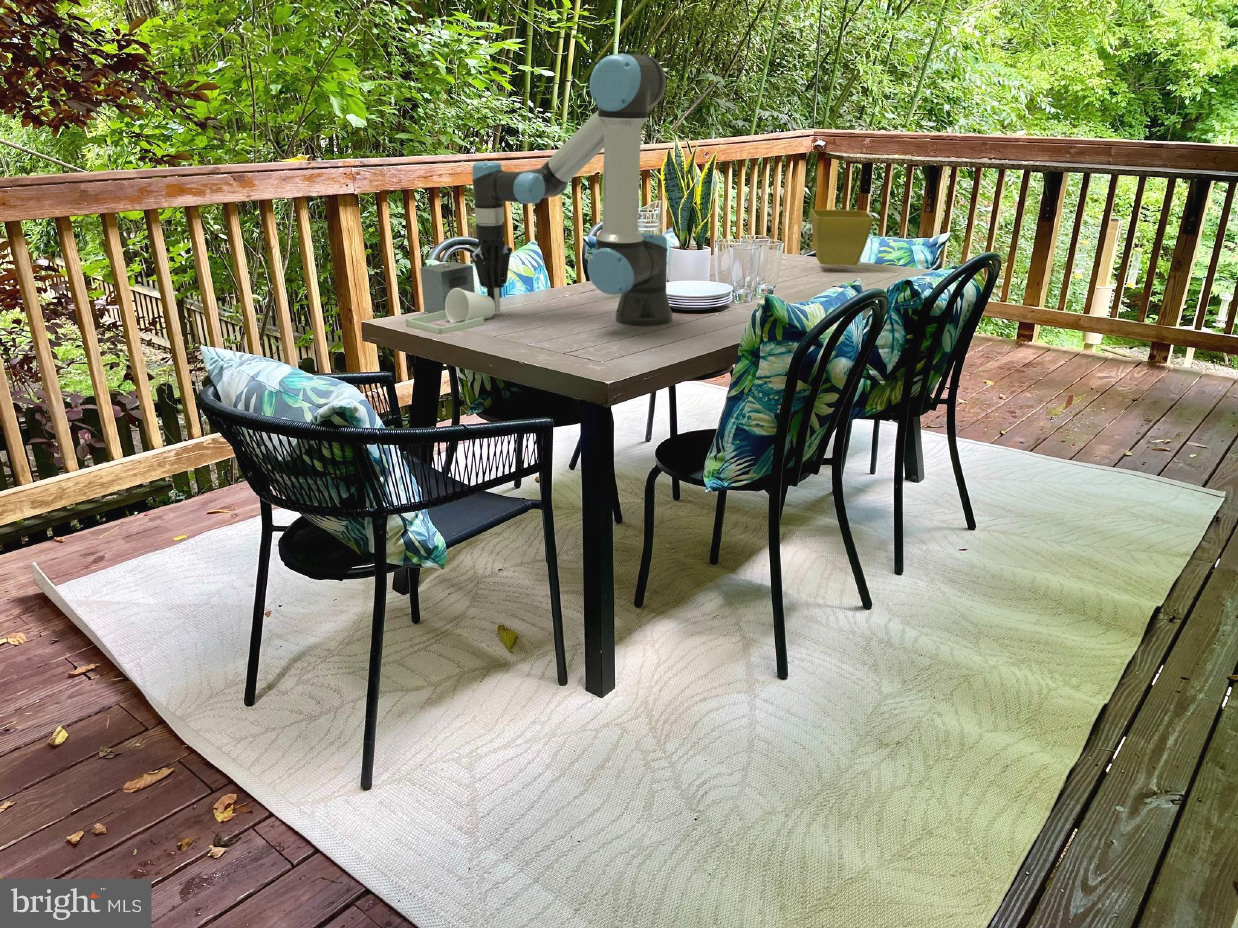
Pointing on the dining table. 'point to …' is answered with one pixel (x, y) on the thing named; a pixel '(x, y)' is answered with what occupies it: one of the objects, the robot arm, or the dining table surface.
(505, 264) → the robot arm
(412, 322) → the corral
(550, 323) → the dining table surface
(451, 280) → the box
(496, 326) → the dining table surface
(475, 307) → the cup
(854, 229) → the flower pot
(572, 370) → the dining table surface
